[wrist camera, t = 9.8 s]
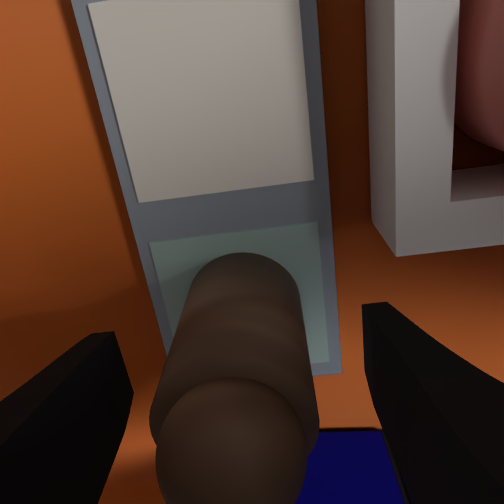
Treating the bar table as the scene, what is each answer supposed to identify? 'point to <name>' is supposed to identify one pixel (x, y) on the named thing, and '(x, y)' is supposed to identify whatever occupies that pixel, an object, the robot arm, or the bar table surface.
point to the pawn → (236, 389)
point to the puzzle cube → (352, 470)
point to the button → (481, 72)
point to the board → (219, 144)
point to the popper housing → (422, 135)
